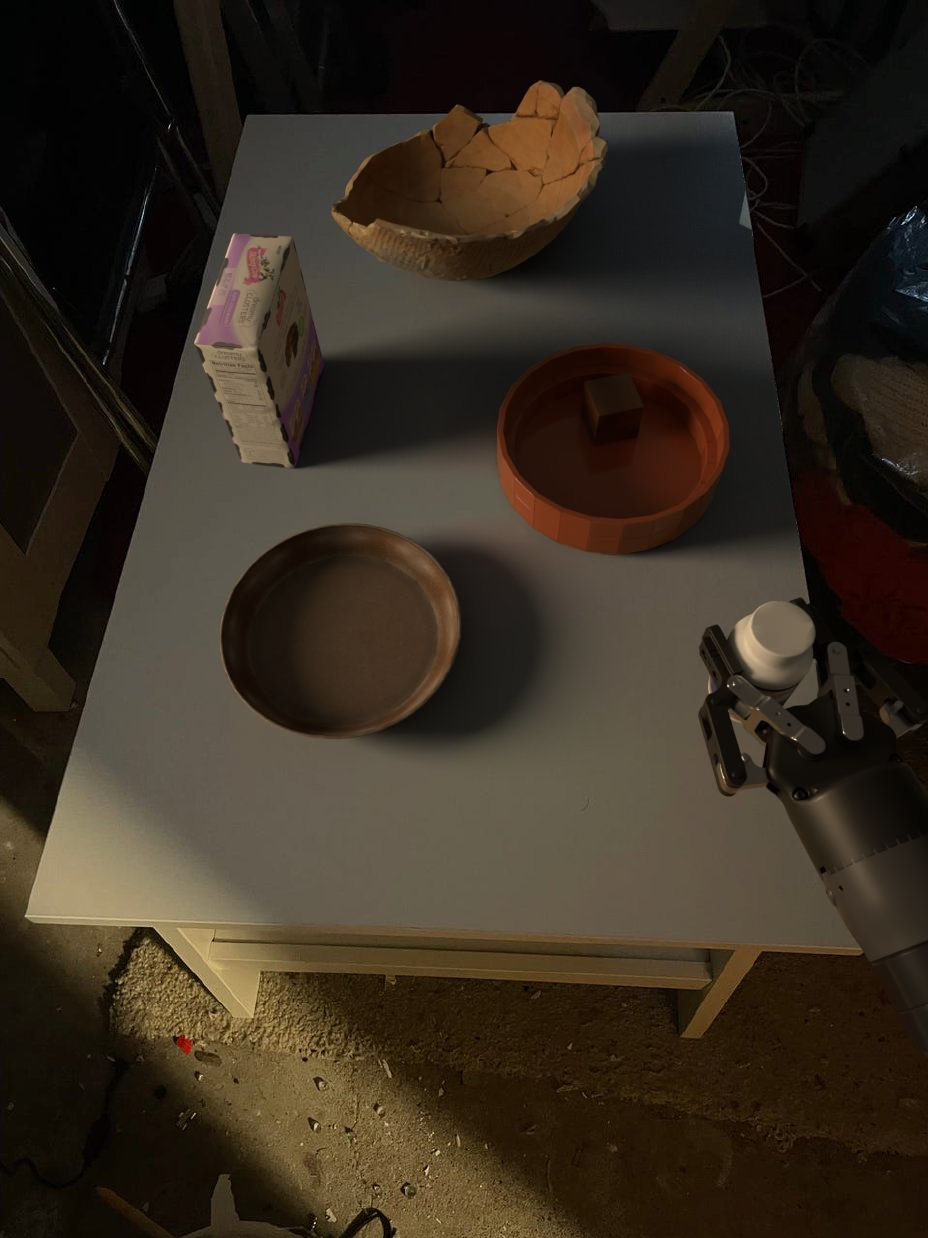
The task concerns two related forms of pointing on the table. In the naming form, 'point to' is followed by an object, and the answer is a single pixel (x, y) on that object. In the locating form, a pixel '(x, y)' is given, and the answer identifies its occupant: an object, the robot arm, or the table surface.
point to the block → (611, 409)
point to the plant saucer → (340, 631)
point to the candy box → (262, 349)
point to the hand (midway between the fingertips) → (750, 618)
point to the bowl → (611, 451)
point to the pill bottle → (773, 649)
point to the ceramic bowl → (477, 187)
